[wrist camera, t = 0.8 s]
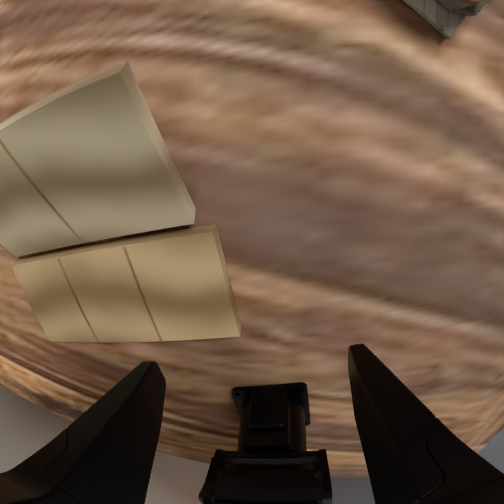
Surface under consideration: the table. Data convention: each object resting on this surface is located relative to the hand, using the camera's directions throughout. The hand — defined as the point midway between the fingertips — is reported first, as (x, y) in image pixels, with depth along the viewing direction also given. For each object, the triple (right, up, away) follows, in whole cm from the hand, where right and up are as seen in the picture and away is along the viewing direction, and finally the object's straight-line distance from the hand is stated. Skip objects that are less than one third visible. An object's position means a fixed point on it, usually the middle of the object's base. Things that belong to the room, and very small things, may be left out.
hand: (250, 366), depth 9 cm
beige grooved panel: (-12, +8, +8) cm, 16 cm away
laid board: (-10, 0, +14) cm, 17 cm away
